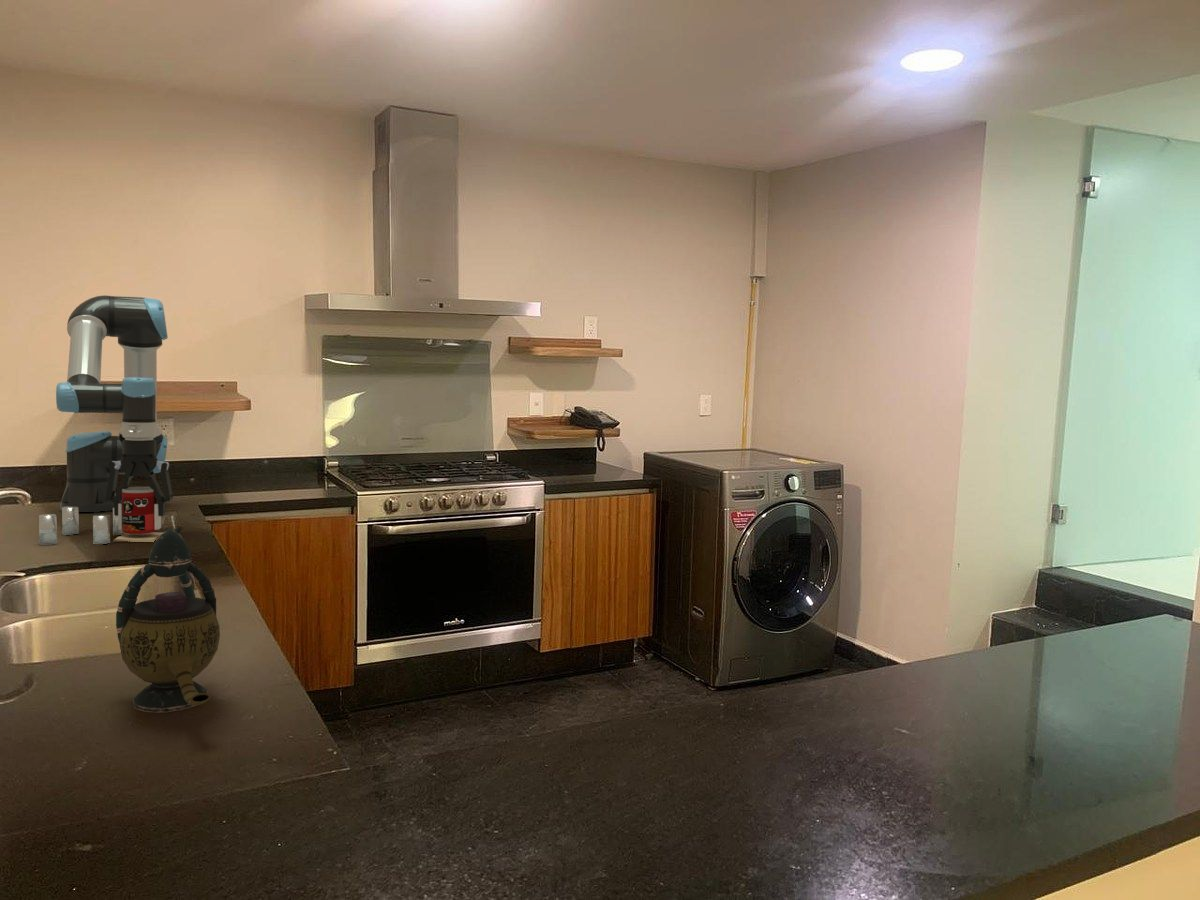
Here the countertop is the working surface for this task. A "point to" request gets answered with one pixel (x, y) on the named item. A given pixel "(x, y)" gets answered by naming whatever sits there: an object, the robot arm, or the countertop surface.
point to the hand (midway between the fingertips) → (139, 528)
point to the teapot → (168, 630)
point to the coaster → (139, 537)
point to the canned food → (138, 510)
